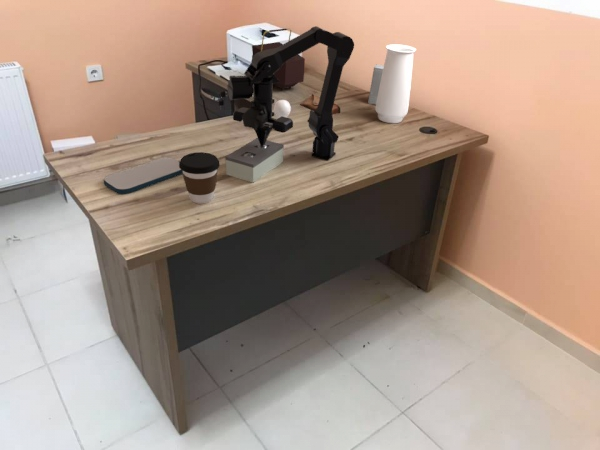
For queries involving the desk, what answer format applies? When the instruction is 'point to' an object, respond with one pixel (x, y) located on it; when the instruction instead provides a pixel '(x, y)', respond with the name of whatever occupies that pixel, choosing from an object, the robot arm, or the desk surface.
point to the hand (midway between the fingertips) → (262, 145)
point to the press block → (254, 160)
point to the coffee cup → (200, 175)
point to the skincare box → (375, 84)
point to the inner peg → (262, 146)
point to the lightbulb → (282, 108)
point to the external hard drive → (143, 175)
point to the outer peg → (248, 155)
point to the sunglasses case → (313, 104)
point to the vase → (395, 84)
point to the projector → (284, 65)
